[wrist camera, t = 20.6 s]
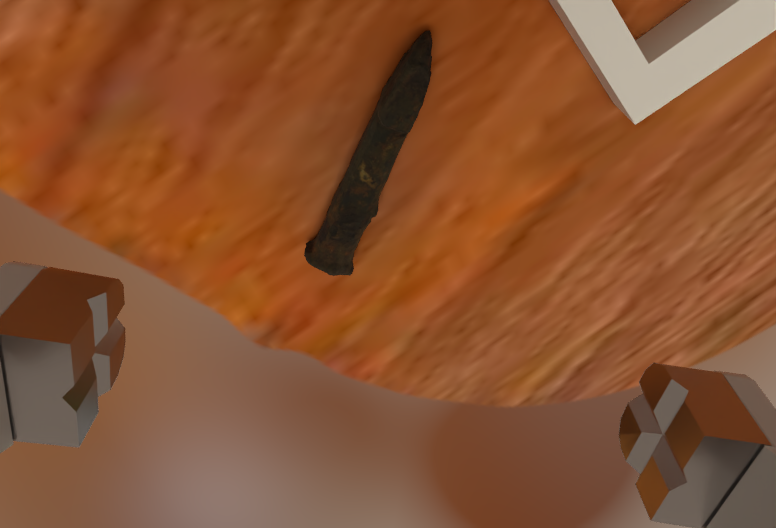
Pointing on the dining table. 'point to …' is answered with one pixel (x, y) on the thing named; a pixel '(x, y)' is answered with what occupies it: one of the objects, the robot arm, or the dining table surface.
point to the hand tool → (372, 162)
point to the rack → (662, 46)
